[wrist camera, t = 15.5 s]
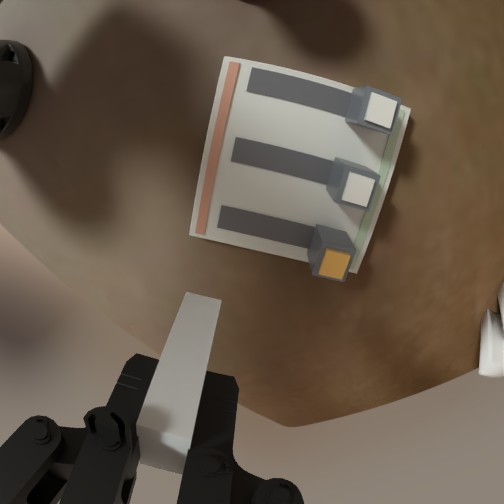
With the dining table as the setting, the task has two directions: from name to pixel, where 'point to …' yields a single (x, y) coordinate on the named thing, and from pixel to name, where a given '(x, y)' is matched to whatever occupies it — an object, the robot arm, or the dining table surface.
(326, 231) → the block
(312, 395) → the dining table surface
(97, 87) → the dining table surface
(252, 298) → the dining table surface
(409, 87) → the dining table surface
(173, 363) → the robot arm
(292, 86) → the panel
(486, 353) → the wavy white extrusion
